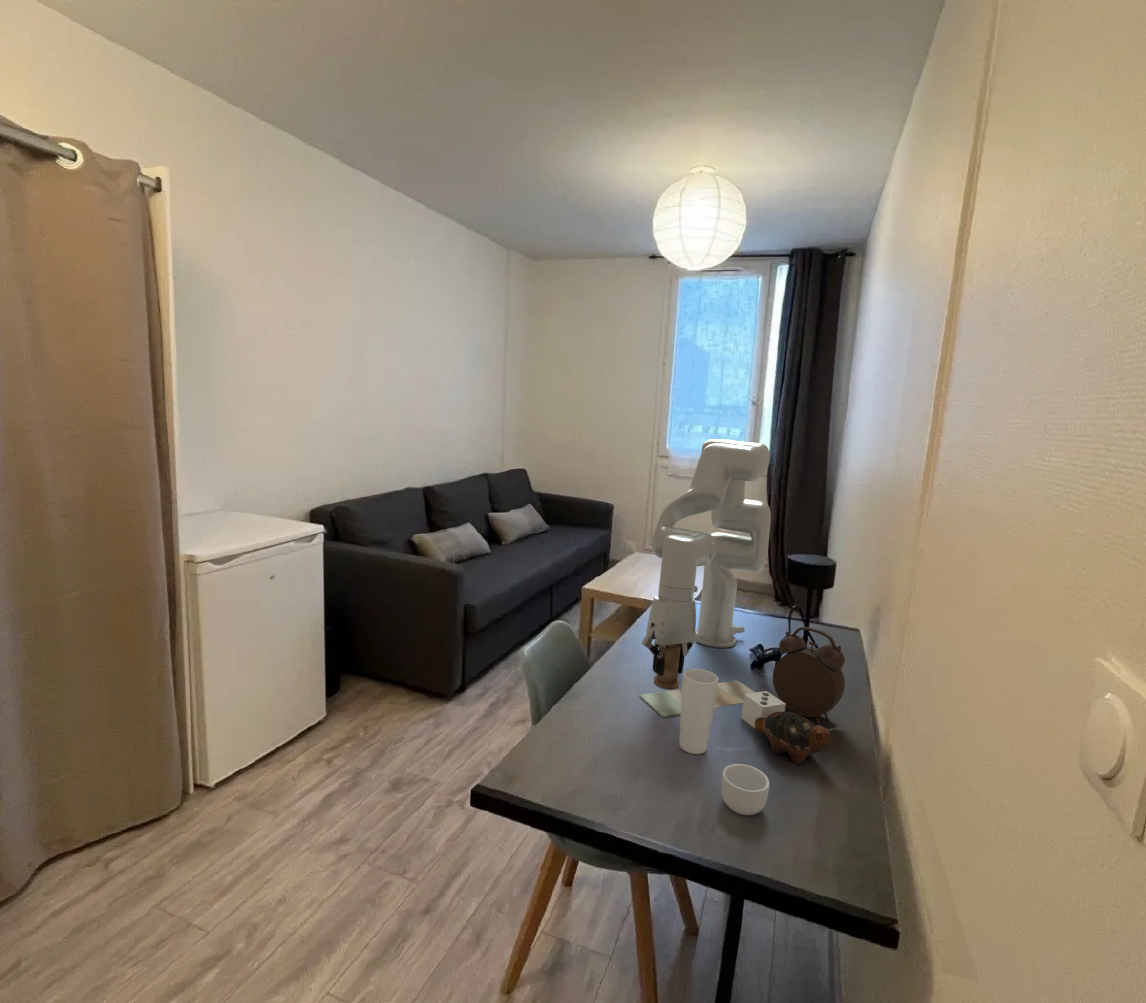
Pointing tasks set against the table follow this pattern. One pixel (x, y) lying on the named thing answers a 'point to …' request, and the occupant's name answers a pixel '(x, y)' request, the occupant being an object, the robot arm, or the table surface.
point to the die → (760, 706)
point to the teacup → (744, 788)
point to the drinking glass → (697, 709)
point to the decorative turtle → (793, 735)
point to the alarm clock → (809, 675)
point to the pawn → (669, 668)
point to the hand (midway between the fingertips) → (667, 671)
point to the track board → (671, 700)
